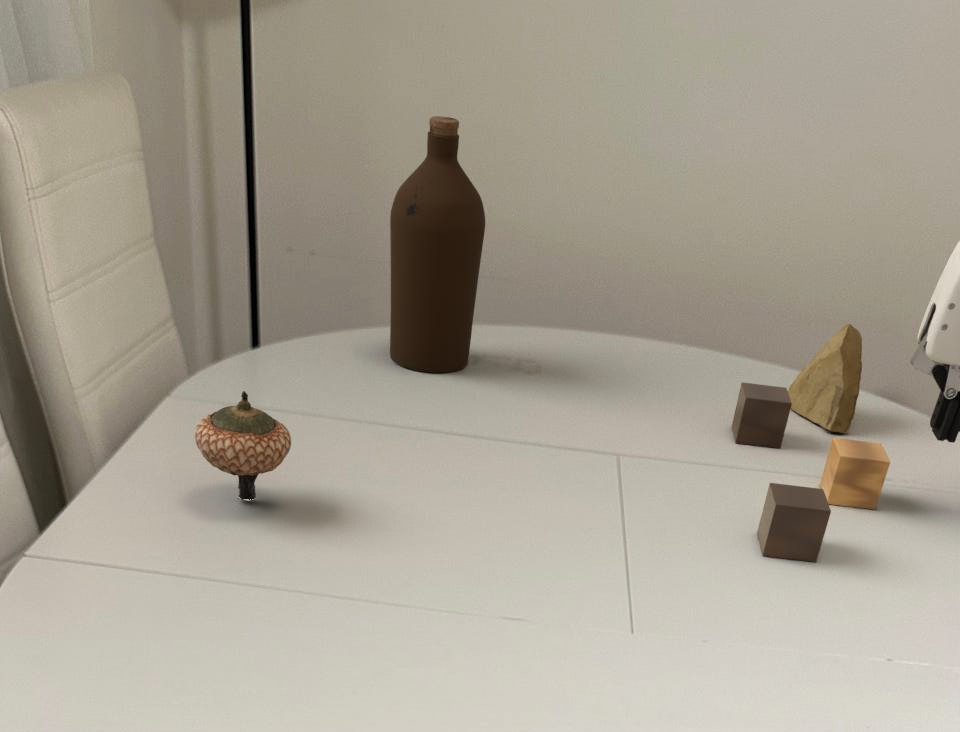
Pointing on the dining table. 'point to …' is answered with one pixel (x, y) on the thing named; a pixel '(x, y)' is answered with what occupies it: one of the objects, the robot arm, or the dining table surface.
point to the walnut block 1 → (761, 415)
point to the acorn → (243, 443)
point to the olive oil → (435, 258)
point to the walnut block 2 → (793, 522)
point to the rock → (831, 382)
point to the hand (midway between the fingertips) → (942, 436)
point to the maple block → (854, 473)
